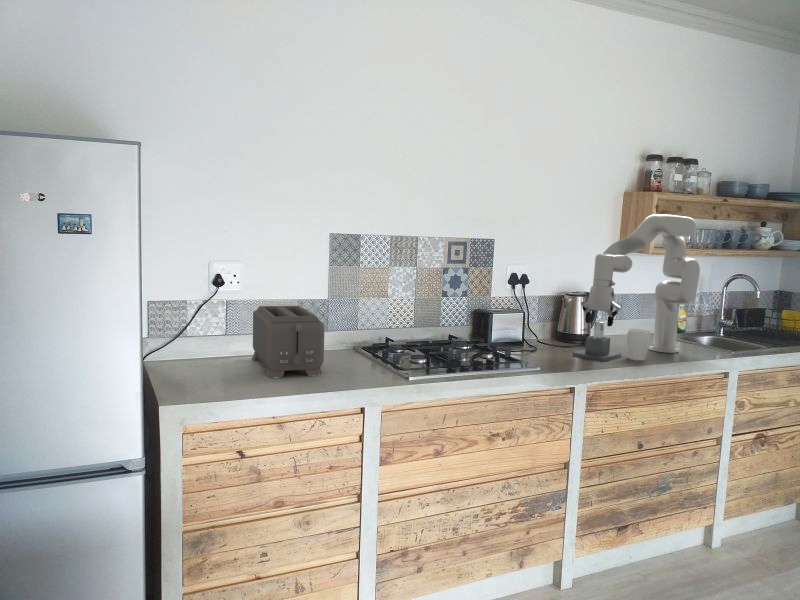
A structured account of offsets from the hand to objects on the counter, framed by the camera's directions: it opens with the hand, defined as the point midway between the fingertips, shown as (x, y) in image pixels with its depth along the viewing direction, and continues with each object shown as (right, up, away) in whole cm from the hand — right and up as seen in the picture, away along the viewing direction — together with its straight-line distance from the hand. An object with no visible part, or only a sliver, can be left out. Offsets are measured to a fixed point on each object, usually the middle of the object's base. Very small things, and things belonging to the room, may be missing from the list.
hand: (598, 324), depth 273 cm
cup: (+16, -15, 0) cm, 22 cm away
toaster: (-124, -14, -41) cm, 131 cm away
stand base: (0, -14, +2) cm, 14 cm away
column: (0, -12, +2) cm, 12 cm away
